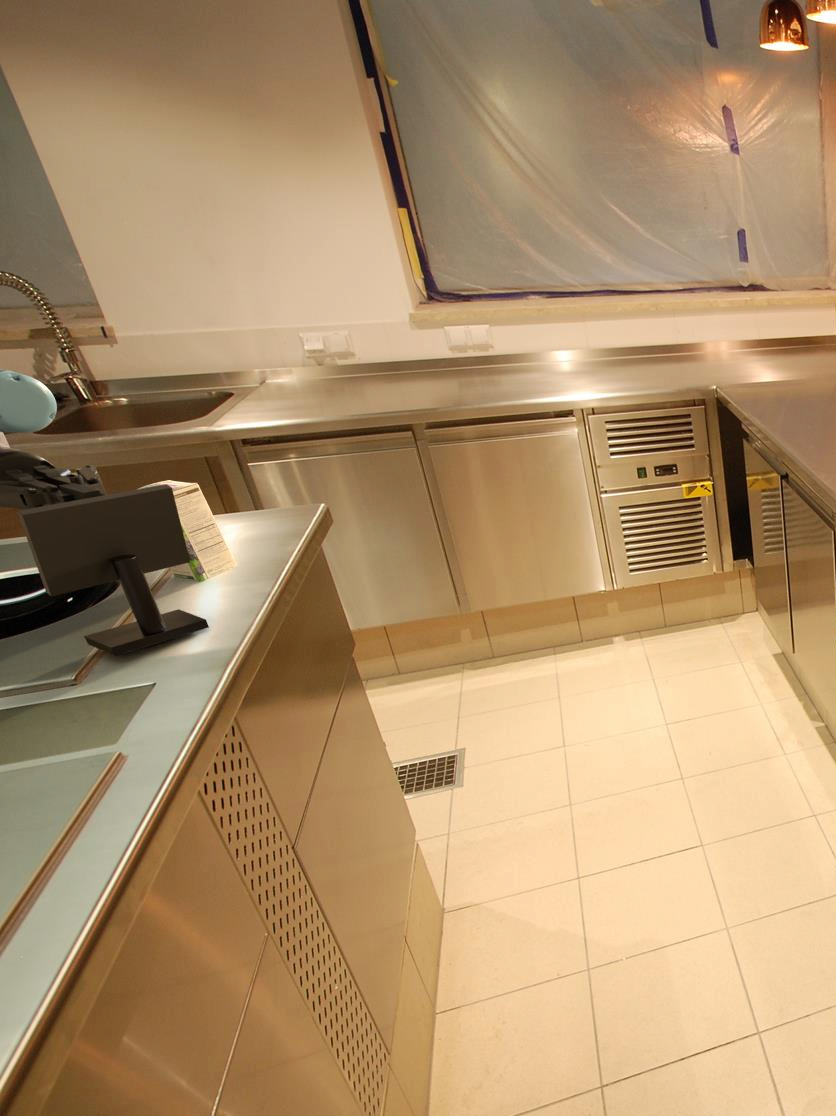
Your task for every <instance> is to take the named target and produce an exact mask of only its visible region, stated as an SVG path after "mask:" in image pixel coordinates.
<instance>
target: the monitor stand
mask: <svg viewBox="0 0 836 1116" xmlns="http://www.w3.org/2000/svg"><path fill="white" fill-rule="evenodd" d="M111 563H112V565H113V567H114V570H115V572H116V574H117V577H118V579H119V580H118V582H119V583H120V586H121V588H122V591H123V592H124V596H125V597H126V599H127V602H128V604H129V606H130V609H131V612H132V613H133V615H134V618H135V620H136V621H132V622H129V623H125V624H122V625H117V626H115V627H111V628H108V629H107V628H106V629H103V630H101V631H98V632H93V633H90V634H87V635H84V636H83V637H84V639H85V641H86V644H87V645H88V646H90V647H93V648H95V649H98V650H100V651H102V652H104V653H107V654H109V655H112V656H113V657H116V656H120V655H125V654H126V653H130V652H133V651H134V652H135V651H136V650H139V649H143V648H146V647H150V646H153V645H156V644H160V643H163V642H166V641H169V640H173V639H176V638H179V637H183V636H185V635H189V634H192V633H196V632H199V631H202V630H205V629H209V628H210V626H209V624H208V621H207V619H206V618H203V617H201V616H197V615H195V614H193V613H190V612H187V611H184V610H181V609H180V608H179V609H175V610H171V611H168V612H165V613H161V611H160V609H159V606H158V604H157V601H156V599H155V596H154V594H153V592H152V589H151V587H150V585H149V583H148V580H147V577H146V575H145V574H144V573H143V570H142V568H141V566H140V563H139V561H138V558H137V556H136V555H132V554H129V555H121V556H117V557H114V558H112V559H111Z"/></svg>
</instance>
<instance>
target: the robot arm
mask: <svg viewBox="0 0 836 1116" xmlns="http://www.w3.org/2000/svg"><path fill="white" fill-rule="evenodd" d="M57 411H58V405H57V400H56V399H55V396H54V394H53V393H52V391H51V390H50V389H49V388H48V387H47V386H46V385H45V384H44V383H42V382H41V381H40V380H38V379H36V378H34V377H33V376H29V375H26V374H23V373H21V372H19V371H15V370H10V369H9V370H8V369H1V368H0V508H8V509H9V508H10V509H18V510H25V509H31V508H36V507H42V506H48V505H53V504H59V503H64V502H70V501H75V500H81V499H86V498H92V497H98V496H103V495H108V493H107V491H106V489H105V486H104V485H103V481H102V479H101V476H100V475H99V472H98V470H97V468H96V465H91V464H86V465H84V466H82V467H79V468H75V472H72V471H71V470H70V469H67V468H61V467H60V468H57V467H56V466H55V465H54V464H52V463H51V462H50V461H48V460H47V459H45V458H44V457H41V456H39V455H37V454H35V453H31V452H27V451H24V450H21V449H18V448H13V447H11V446H10V445H9V442H8V440H7V438H6V435H5V434H19V433H20V434H29V433H34V432H35V433H36V432H39V431H41V430H43V429H45V428H47V427H48V426H49V425H51V424H52V422H53V421H54V420H55V419H56V418H55V417H56V415H57Z"/></svg>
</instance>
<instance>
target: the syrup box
mask: <svg viewBox="0 0 836 1116" xmlns="http://www.w3.org/2000/svg"><path fill="white" fill-rule="evenodd" d="M164 484H167V485H169V486H170V487H172V490H173V494H174V498H175V502H176V506H177V510H178V514H179V518H180V522H181V526H182V530H183V534H184V538H185V542H186V546H187V550H188V554H189V558H190V562H189V563H185V564H181V565H177V566H173V567H169V570H170V572H171V573H172V576H173V577H174V578H175V579H181V580H187V581H194V582H202V583H203V582H205V581H207V580H209V579H211V577H212V578H214V577H216V576H219V575H221V574H222V573H225V572H228V571H229V570H231V569H234V568H235V567H238V564H237V562H236V560H235V558H234V555H233V554H232V552H231V550H230V548H229V545H228V543H227V541H226V539H225V537H224V535H223V533H222V531H221V528H220V527H219V525H218V523H217V521H216V518H215V517H214V515H213V512H212V510H211V507H210V506H209V504H208V502H207V500H206V498H205V496H204V494H203V492H202V489H201V487H200V485H199V484H198V482H185V481H175V480H172V479H171V480H170V479H169V480H168V479H167V480H163V481H158V482H154V483H151V484H147V485H144V486H142V487H139V488H138V489H142V488H148V487H153V486H159V485H164Z"/></svg>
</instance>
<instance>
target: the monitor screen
mask: <svg viewBox="0 0 836 1116" xmlns="http://www.w3.org/2000/svg"><path fill="white" fill-rule="evenodd" d="M16 513H17V515H18V518H19V521H20V524H21V526H22V530H23V532H24V534H25V537H26V541H27V543H28V546H29V549H30V551H31V554H32V557H33V559H34V563H35V566H36V568H37V570H38V573H39V576H40V579H41V582H42V584H43V587H44V591H45V593H46V594H47V595H49V596H50V597H55V596H60V595H63V594H69V593H71V592H76V591H80V590H85V589H87V588H93V587H96V586H100V585H104V584H105V585H106V584H108V583H114V582H117V581H119V579H118V577H117V574H116V572H115V570H114V567H113V565H112V563H111V559H112V558H114V557H117V556H121V555H129V554H132V555H136V556H137V558H138V561H139V563H140V566H141V568H142V570H143V573H144V575H145V574H148V573H153V572H158V571H161V570H165V569H168V568H169V567H173V566H177V565H181V564H185V563H189V562H190V558H189V554H188V550H187V546H186V542H185V538H184V534H183V530H182V526H181V522H180V518H179V514H178V510H177V506H176V502H175V498H174V494H173V490H172V487H170V486H169V485H167V484H164V485H159V486H153V487H148V488H142V489H139V488H137V489H131V490H126V491H120V492H114V493H108V494H107V495H103V496H98V497H92V498H86V499H81V500H75V501H70V502H64V503H59V504H53V505H48V506H47V505H43V506H42V507H36V508H31V509H19V510H17V512H16ZM169 569H170V568H169Z"/></svg>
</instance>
